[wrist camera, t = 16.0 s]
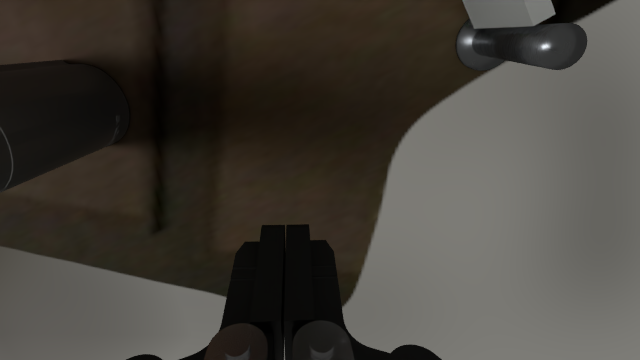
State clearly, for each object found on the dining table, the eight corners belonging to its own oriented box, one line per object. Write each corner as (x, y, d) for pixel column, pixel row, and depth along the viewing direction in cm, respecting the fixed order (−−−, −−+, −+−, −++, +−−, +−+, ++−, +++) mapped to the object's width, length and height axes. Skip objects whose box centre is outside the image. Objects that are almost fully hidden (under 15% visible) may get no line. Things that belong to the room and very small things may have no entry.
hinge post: (444, 50, 33) (493, 61, 20) (482, -1, 31) (564, -26, 18) (486, 80, 33) (560, 110, 20) (526, 32, 31) (636, 31, 18)
